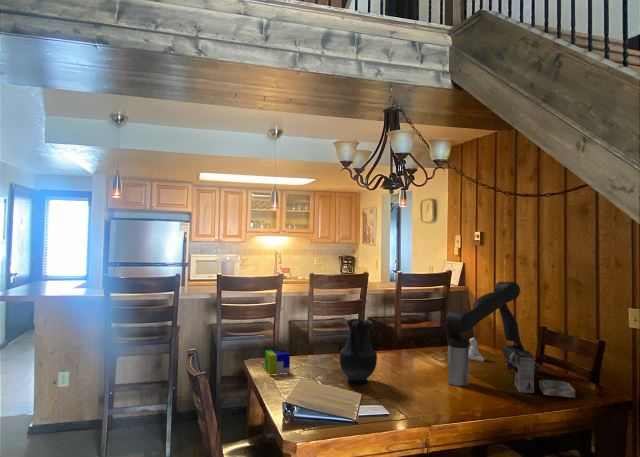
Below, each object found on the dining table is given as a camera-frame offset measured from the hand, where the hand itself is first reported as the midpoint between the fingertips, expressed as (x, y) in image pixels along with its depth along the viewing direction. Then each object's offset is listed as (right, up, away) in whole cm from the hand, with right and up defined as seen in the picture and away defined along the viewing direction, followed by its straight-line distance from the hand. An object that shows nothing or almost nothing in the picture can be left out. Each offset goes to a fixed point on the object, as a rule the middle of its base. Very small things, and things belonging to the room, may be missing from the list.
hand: (525, 371), depth 189 cm
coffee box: (+1, -9, +3) cm, 10 cm away
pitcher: (-73, -9, +10) cm, 74 cm away
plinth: (+13, -9, -1) cm, 16 cm away
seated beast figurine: (-4, -11, +51) cm, 52 cm away
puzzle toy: (-112, -10, +27) cm, 116 cm away
